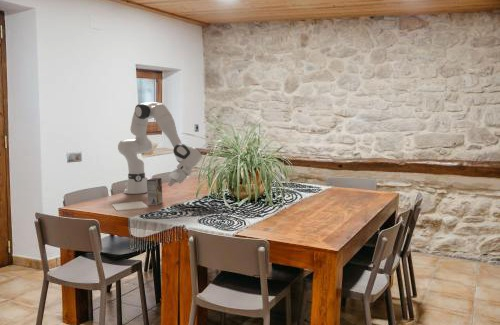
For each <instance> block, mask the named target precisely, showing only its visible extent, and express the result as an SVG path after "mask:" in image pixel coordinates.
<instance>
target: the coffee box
mask: <svg viewBox="0 0 500 325" xmlns="http://www.w3.org/2000/svg"><path fill="white" fill-rule="evenodd" d="M146 180H147V192H146V193H147V206H159V205H160V204H162V203H163V201H164V200H163V189H162V188H163V186H162V184H163V182H162V177H153V178H150V179H146Z"/></svg>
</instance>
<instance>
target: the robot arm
mask: <svg viewBox="0 0 500 325" xmlns="http://www.w3.org/2000/svg"><path fill="white" fill-rule="evenodd" d="M151 119H154V120H155V122H156V124H157V126H158V128H160V130H161V131H162V133H164V135H165V136H166V137H167V138H168V140H169V142H170V144H171V146H172V148H173V155H174V157H175V159H176V161H177V162H178V163H179V164H177V166H176V168H175V169H173V170H172V172H171V173H170V174H168V178H169V179H170V180H169V181H168V184H167V186H169V187H172V186H173V185H175V184H176V183H178V184H181V183H182V184H183V182H184V181H185V180H186V179H187V178H188V177H189V176H190V175H191V174H192V173H191V172H192V171H193V168H195V166H197V165H198V163H199V162H200V161H201V159H202V157H203V154H202V152H201V151H200V150H199V149H198V148H197V147H192V146H188V145H186V144H184V143H182V141H181V139H180V137H179V135H178V131H177V127H176V122H175V120H174V118H173V114H172V113H171V112H170V110H169V109H168V107H167V106H166V105H165V104H164V103H163V102H159V101H149V102H142V103H138V104H136V105H135V108H134V112H133V114H132V118H131V123H130V124H131V125H130V133H131V134H132V135H134V136H135V138H131V139H130V138H129V139H123V140H120V141H119V142H118V144H117V150H118V152H119V153H120V154H121V155H123V157H124V158H125V160H126V162H127V166H128V167H127V168H128V173H127V174H128V175H127V178H128V179H127V181H126V183H124V187H125V188H124V191H123V193H124V194H129V195H130V194H132V195H134V194H135V195H138V194H145V193H147V180H148V179H147V178H146V173H145V162H144V161H143V160H142V159H140V158H139V157H138V155H139V154H140V155H141V154H147V153H149V152H151V151H152V148H153V143H152V141H151V140H150V139H149V137H148V135H147V130H148V125H149V120H151Z"/></svg>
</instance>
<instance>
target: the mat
mask: <svg viewBox="0 0 500 325" xmlns="http://www.w3.org/2000/svg"><path fill="white" fill-rule="evenodd" d="M111 206H112V207H113V208H114V210H115V209H116V210H115V211H116V212H120V211H131V210H140V209H142V210H143V209H149V205H148V204H146V203H145V202H143V201H142V200H141V201H140V200H139V201H131V202H130V201H129V202H121V203H120V202H119V203H112V204H111Z"/></svg>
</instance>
